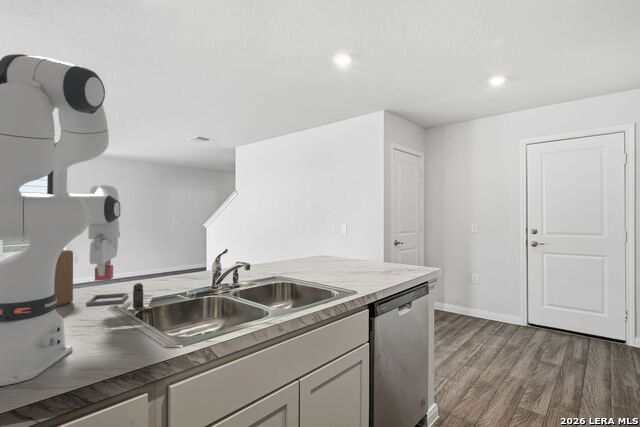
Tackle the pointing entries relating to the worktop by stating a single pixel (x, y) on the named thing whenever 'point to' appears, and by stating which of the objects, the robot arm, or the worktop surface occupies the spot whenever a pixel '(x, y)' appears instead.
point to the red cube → (107, 276)
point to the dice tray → (91, 303)
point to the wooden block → (64, 278)
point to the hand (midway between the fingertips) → (104, 274)
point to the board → (146, 301)
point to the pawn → (138, 295)
